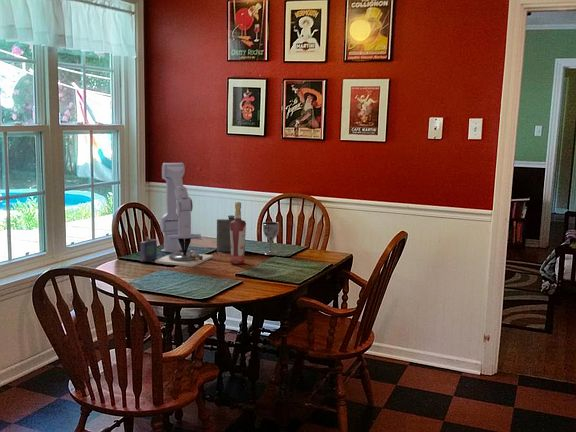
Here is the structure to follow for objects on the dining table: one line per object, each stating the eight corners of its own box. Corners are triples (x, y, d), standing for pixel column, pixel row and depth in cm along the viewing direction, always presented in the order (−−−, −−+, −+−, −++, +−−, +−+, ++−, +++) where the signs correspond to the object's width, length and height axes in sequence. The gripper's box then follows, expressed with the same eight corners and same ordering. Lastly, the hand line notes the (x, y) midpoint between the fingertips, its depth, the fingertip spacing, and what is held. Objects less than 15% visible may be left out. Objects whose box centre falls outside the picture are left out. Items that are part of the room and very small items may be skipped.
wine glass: (279, 251, 303) (280, 222, 300) (277, 255, 295) (278, 224, 292) (263, 251, 303) (264, 221, 301) (261, 254, 296) (261, 224, 293)
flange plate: (162, 257, 280) (162, 249, 279) (185, 252, 291) (185, 244, 290) (186, 263, 270) (186, 254, 270) (209, 257, 281) (209, 249, 280)
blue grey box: (143, 262, 276) (142, 239, 274) (138, 261, 277) (138, 238, 275) (158, 258, 283) (157, 235, 281) (153, 257, 285) (153, 235, 283)
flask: (218, 249, 304) (218, 214, 301) (245, 251, 301) (246, 215, 298) (215, 251, 300) (216, 215, 297) (243, 253, 298) (244, 217, 295)
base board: (177, 253, 294) (177, 248, 293) (212, 257, 288) (212, 252, 287) (154, 262, 275) (154, 256, 275) (192, 267, 269) (192, 261, 269)
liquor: (243, 266, 273) (243, 204, 268) (227, 264, 274) (227, 203, 269) (247, 262, 280) (248, 202, 275) (232, 261, 281) (232, 201, 276)
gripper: (168, 227, 268) (168, 257, 270) (201, 226, 271) (201, 256, 273) (167, 224, 274) (167, 253, 277) (200, 223, 278) (199, 252, 280)
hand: (184, 255), depth 275 cm, fingers closed
